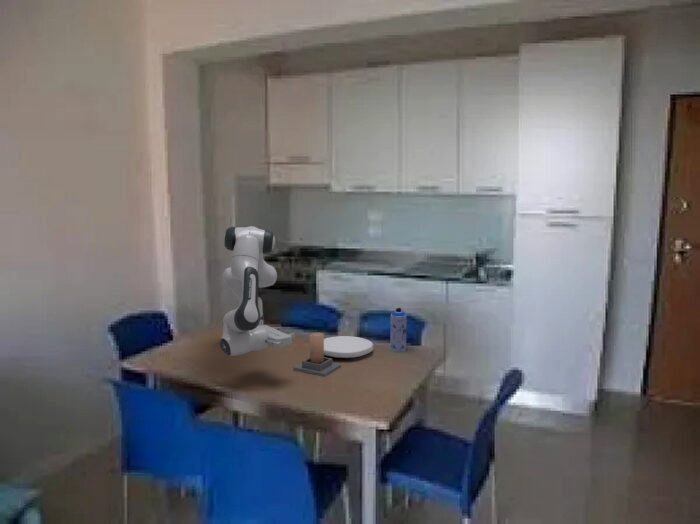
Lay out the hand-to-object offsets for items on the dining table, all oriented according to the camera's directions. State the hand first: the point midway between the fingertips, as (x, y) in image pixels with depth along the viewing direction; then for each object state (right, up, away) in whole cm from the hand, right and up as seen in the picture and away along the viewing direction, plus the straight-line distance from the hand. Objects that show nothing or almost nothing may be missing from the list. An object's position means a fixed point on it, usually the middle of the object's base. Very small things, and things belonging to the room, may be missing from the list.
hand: (288, 331), depth 248 cm
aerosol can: (+49, -12, +33) cm, 60 cm away
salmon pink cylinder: (+12, -15, +7) cm, 21 cm away
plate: (+23, -13, +29) cm, 40 cm away
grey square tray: (+12, -17, +7) cm, 22 cm away
